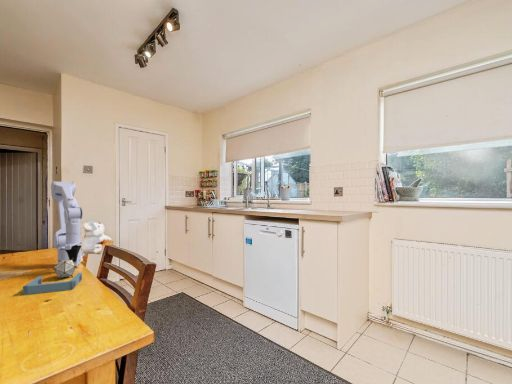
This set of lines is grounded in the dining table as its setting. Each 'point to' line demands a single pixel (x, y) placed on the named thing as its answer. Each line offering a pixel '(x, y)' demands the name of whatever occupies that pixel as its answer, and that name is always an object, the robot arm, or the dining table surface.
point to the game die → (65, 268)
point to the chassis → (50, 285)
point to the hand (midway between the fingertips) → (73, 261)
